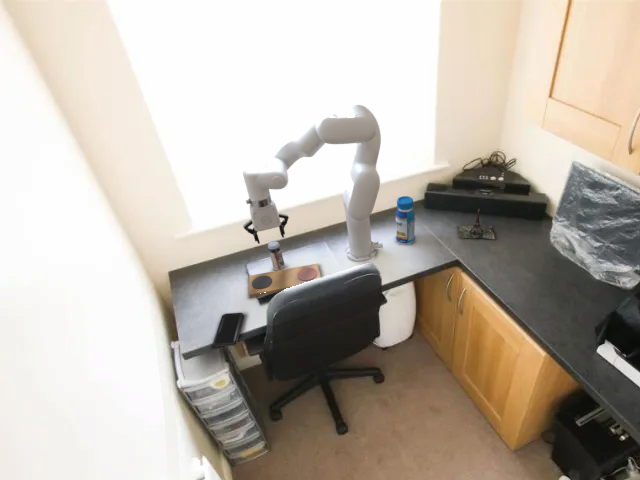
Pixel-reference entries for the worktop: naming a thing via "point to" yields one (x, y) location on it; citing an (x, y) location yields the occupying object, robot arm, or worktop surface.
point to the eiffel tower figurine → (476, 230)
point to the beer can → (276, 255)
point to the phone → (228, 329)
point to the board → (281, 279)
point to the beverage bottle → (405, 220)
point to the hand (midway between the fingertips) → (270, 238)
